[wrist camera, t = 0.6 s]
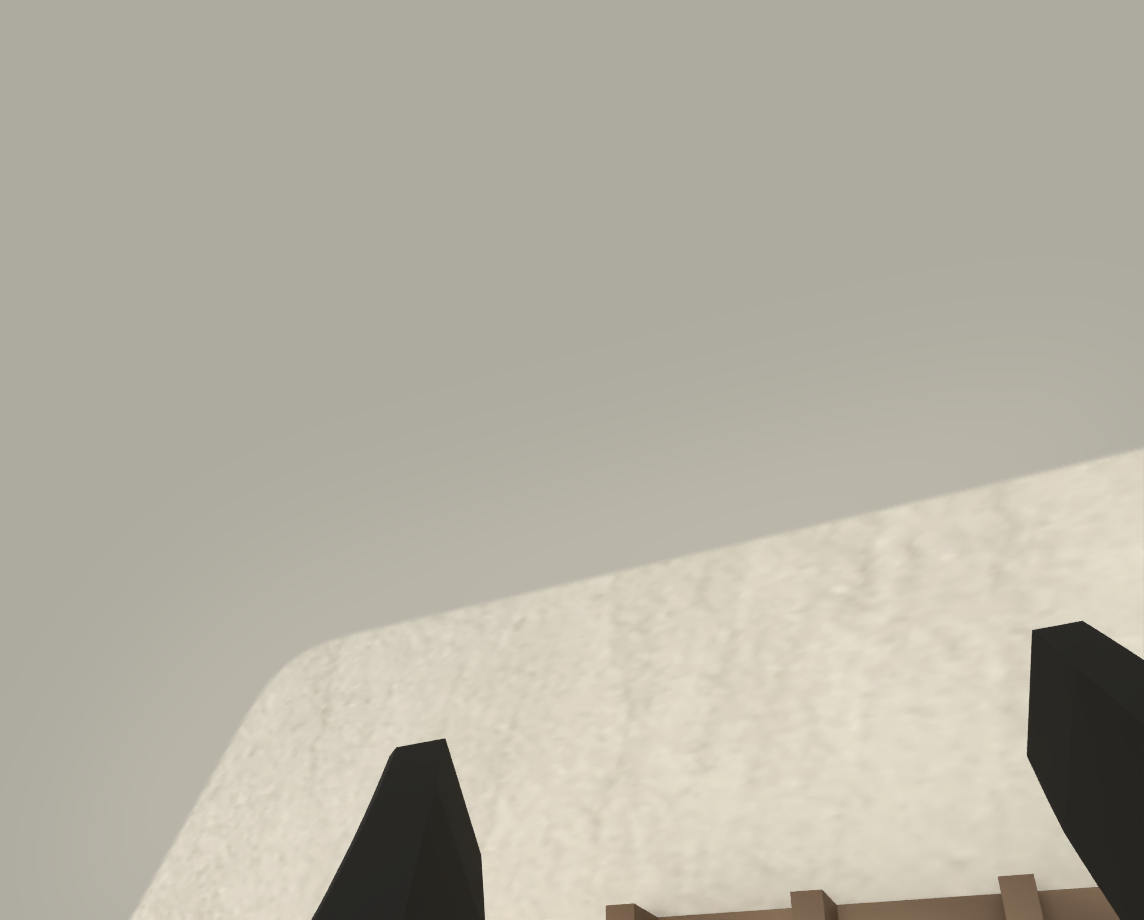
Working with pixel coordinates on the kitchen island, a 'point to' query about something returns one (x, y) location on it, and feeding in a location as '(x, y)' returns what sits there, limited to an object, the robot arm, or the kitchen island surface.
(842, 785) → the kitchen island surface
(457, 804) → the robot arm
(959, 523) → the kitchen island surface
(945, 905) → the rack
